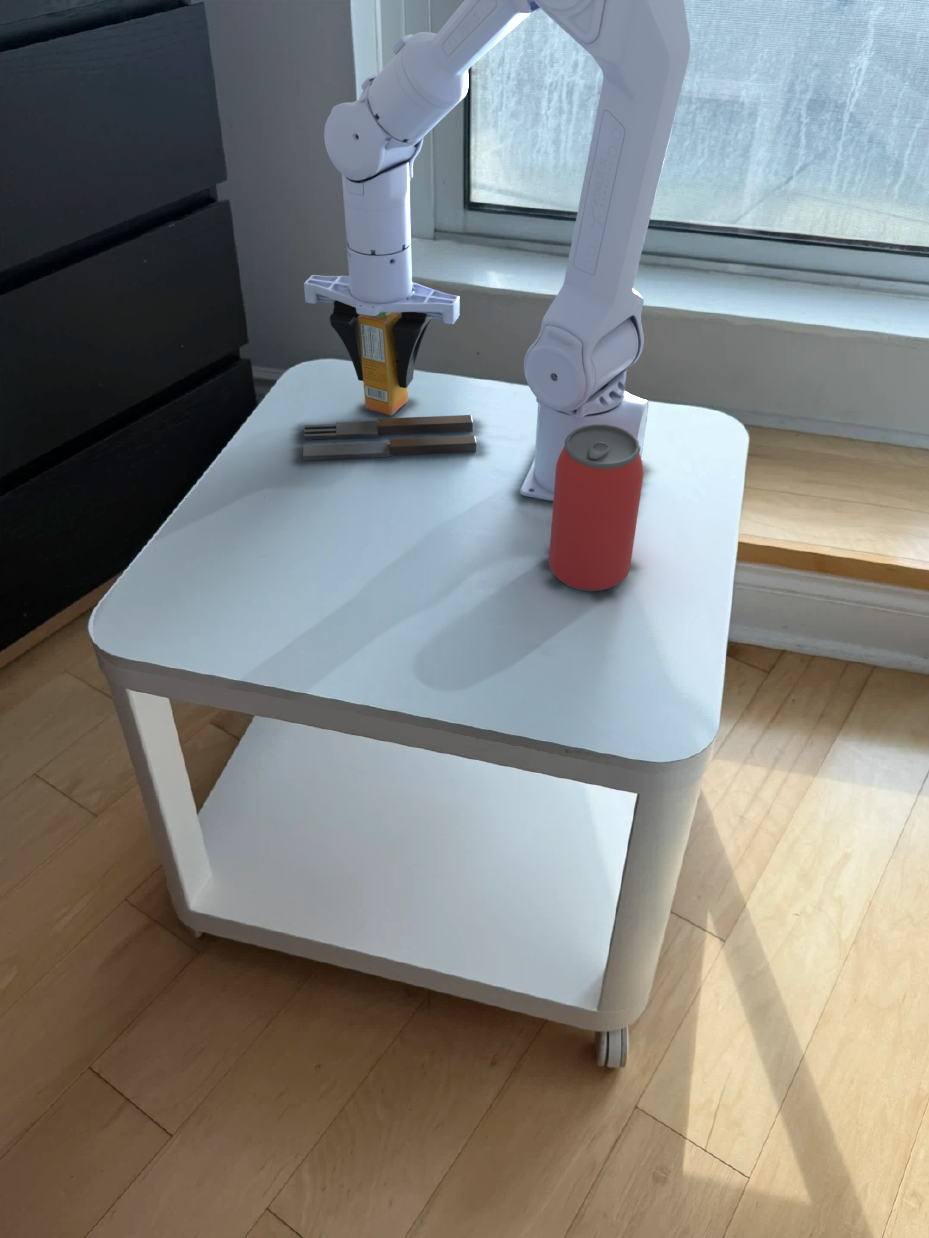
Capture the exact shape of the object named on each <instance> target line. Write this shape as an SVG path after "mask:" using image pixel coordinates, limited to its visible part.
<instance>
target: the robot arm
mask: <svg viewBox="0 0 929 1238" xmlns="http://www.w3.org/2000/svg"><path fill="white" fill-rule="evenodd" d="M538 11H543V12H544V13H545V15H546V16H548V17H549V18H550V19H551V20H552V21H553V22H554V23H556V24H557V25H558V26H559V27H560V28H561V29H562V30H563V31H564V32H565V33H566V34H568V36H570V37H571V38H572V39H573V40H574V41H575V42H576V43H577V44H579V46H581V48H583V49H584V51H586V52H587V53H588V54H589V55H590V56H591V57H592V58H593V59H594V61H595V63H596V64H597V65H598V67H599V68H600V70H601V72H602V74H603V77H602V78H603V79H602V84H601V90H600V95H599V100H598V104H597V110H596V115H595V120H594V125H593V131H592V136H591V141H590V145H589V151H588V156H587V162H586V166H585V171H584V177H583V182H582V187H581V191H580V197H579V203H578V207H577V213H576V218H575V223H574V228H573V233H572V238H571V244H570V248H569V255H568V259H567V264H566V269H565V275H564V279H563V284H562V286H561V288H560V290H559V292H558V293H557V294H556V296H555V298H554V299H553V301H552V303H551V304H550V305H549V307H548V309H547V311H546V313H545V314H544V316H543V317H542V319H541V325H540V330H539V333H538V335H537V338H536V339H535V340H534V341H533V343H532V344H531V345H530V346H529V347H528V349H527V351H526V353H525V354H524V359H523V372H524V377H525V381H526V383H527V386H528V388H529V389H530V391H531V392H532V394H533V395H534V397H535V402H536V403H537V410H536V411H537V413H536V429H535V446H534V459H533V461H532V463H531V466H530V467H529V470H528V472H527V475H526V476H525V478H524V481H523V483H522V485H521V487H520V495H521V496H524V497H530V498H534V499H540V500H545V501H550V502H551V501H552V502H553V499H554V486H555V473H556V464H557V461H558V458H559V456H560V454H561V452H562V450H563V448H564V446H565V440H566V438H567V436H568V435H569V434H570V433H571V432H572V431H574V430H575V429H578V428H580V427H583V426H588V425H594V424H596V425H610V426H615V427H618V428H621V429H624V430H626V431H627V432H629V433H630V434H632V435H633V436H634V437H635V438H636V439H637V440H638V442H639V445H640V451H639V453H640V456H641V460H642V464H643V462H644V461H643V459H642V458H643V450H644V443H645V435H646V429H647V421H648V414H649V400H647V399H644V398H641V397H639V396H636V395H633V394H631V393H629V392H628V391H626V390H625V389H626V380H627V370H628V368H630V367H632V366H633V365H634V364H635V363H636V362H637V361H638V360H639V358H640V357H641V354H642V353H643V350H644V343H645V337H644V330H643V326H642V311H643V307H644V303H645V299H644V298H643V296H642V295H641V294H640V293H639V292H638V291H637V290H636V289H634V285H635V282H636V277H637V272H638V268H639V265H640V261H641V257H642V254H643V253H642V252H643V249H644V244H645V241H646V236H647V233H648V228H649V224H650V219H651V216H652V212H653V208H654V203H655V201H656V195H657V191H658V187H659V183H660V179H661V175H662V171H663V167H664V164H665V163H664V162H665V159H666V156H667V151H668V147H669V143H670V139H671V135H672V132H673V131H672V130H673V128H674V127H673V126H674V123H675V118H676V114H677V110H678V107H679V103H680V98H681V95H682V90H683V86H684V82H685V79H686V74H687V70H688V66H689V61H690V55H691V39H690V32H689V26H688V20H687V14H686V6H685V1H684V0H463V1H462V2H461V4H460V5H459V6H458V7H457V9H456V10H455V11H454V12H453V13H452V15H451V16H450V17H449V18H448V20H447V21H446V22H445V23H444V24H443V26H442V27H441V28H440V30H439V31H438V32H437V33H436V32H431V31H420V32H417V33H415V34H413V33H409V34H407V35H402V36H400V37H399V38H398V39H397V40H396V41H395V42H394V43H393V44H392V45H391V49H392V51H393V53H394V56H393V57H392V58H391V59H390V61H389V62H388V63H387V64H386V65H385V66H384V67H383V68H382V70H381V71H380V72H379V73H378V74H377V75H372V76H369V77H367V78H365V80H364V81H363V82H362V84H361V86H360V87H361V89H362V92H361V93H360V96H359V98H358V100H355V101H351V102H342V103H339V104H336V105H334V106H333V107H332V109H331V111H330V113H329V114H328V115H329V116H328V117H327V119H326V121H325V125H324V130H323V139H324V146H325V149H326V153H327V155H328V157H329V160H330V162H331V164H333V166H334V168H335V169H336V170H337V171H338V173H340V174H341V185H342V200H343V213H344V227H345V228H344V229H345V243H346V254H347V258H346V259H347V271H348V275H318V274H311V275H310V277H308V278H307V279H306V280H305V282H304V283H303V289H304V290H303V291H304V292H303V293H304V302H305V303H307V304H313V305H315V304H318V302H321V303H322V302H323V303H330V304H333V310H332V311H333V312H332V313H331V314H330V315H329V322H330V326H331V327H332V328H333V330H334V331H335V332H336V334H337V335H338V337H339V338H340V340H341V341H342V343H343V345H344V346H345V348H346V350H347V353H348V355H349V357H350V359H351V362H352V365H353V367H354V371H355V375H356V378H357V380H358V381H360V382H363V372H362V359H361V348H360V336H359V325H358V316H360V315H361V314H362V315H369V316H376V315H378V314H379V313H380V312H395V313H402V317H401V318H399V320H398V321H397V322H396V323H395V325H394V326H393V328H392V330H393V334H394V338H395V342H396V347H397V354H398V381H399V387H402V388H407V387H408V388H409V385H410V384H411V382H412V381H413V380H414V372H415V367H416V361H417V358H418V355H419V351H420V348H421V345H422V342H423V339H424V338H425V334H426V332H427V330H428V328H429V326H430V323H431V322H432V319H435V320H442V323H443V324H445V325H446V324H447V325H452V326H453V325H454V324H455V323H456V322H457V321H458V319H459V317H460V315H461V314H460V313H461V312H460V310H461V307H460V305H461V303H460V301H461V299H460V296H459V295H455V294H450V293H447V292H443V291H440V290H437V289H434V288H431V287H427V286H425V285H422V284H419V283H417V282H414V281H413V272H412V271H413V270H412V268H413V267H412V235H411V234H412V233H411V198H410V182H411V179H413V178H414V168H413V167H414V163H415V159H416V158H417V156H418V155H419V154H420V152H421V150H422V147H423V143H424V137H425V136H426V135H427V134H428V133H429V132H430V131H432V130H433V128H435V127H436V126H437V125H438V123H440V122H441V121H442V120H443V118H445V117H446V116H447V115H448V114H449V113H450V112H451V111H452V110H453V109H454V108H455V107H456V106H457V105H459V103H460V102H461V101H462V100H463V99H464V98H465V97H466V96H467V93H468V90H469V70H470V68H472V67H473V66H474V65H476V63H477V62H479V60H480V59H482V58H483V57H484V56H485V55H486V54H487V53H488V52H489V51H490V50H492V48H494V47H495V46H496V45H497V44H498V43H499V42H501V40H503V39H504V38H505V37H506V36H507V35H508V34H509V33H510V32H511V31H513V30H514V29H515V28H516V27H517V26H518V25H519V24H520V23H521V22H522V21H524V20H525V19H526V18H527V17H528V16H529V15H530V14H533V13H536V12H538Z"/></svg>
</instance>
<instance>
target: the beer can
mask: <svg viewBox="0 0 929 1238" xmlns="http://www.w3.org/2000/svg"><path fill="white" fill-rule="evenodd" d="M639 451H640V445H639V442H638V440H637V439H636V438H635V437H634V436H633V435H632V434H630V433H629V432H627V431H626V430H624V429H621V428H618V427H615V426H610V425H596V424H594V425H588V426H583V427H580V428H578V429H575V430H574V431H572V432H571V433H570V434H569V435H568V436H567V438H566V440H565V446H564V448H563V450H562V452H561V454H560V456H559V458H558V461H557V464H556V473H555V486H554V499H553V501H552V513H551V526H550V540H549V552H548V553H549V554H548V563H549V564H548V565H549V568H550V570H551V572H552V575H554V577H556V578H557V579H558V580H559V581H560V582H561V583H563V584H564V585H566V586H568V587H571V588H573V589H575V590H579V591H580V590H581V591H585V592H601V591H605V590H609V589H611V588H613V587H615V586H618V585H620V584H621V583H622V582H623V581H624V580H625V579H626V578H627V577H628V575H629V572H630V569H631V565H632V559H633V551H634V545H635V538H636V529H637V523H638V517H639V516H638V515H639V508H640V501H641V494H642V487H643V481H644V474H645V473H644V466H643V465H644V464H643V463H642V460H643V459H642V458H641V456H640V453H639Z"/></svg>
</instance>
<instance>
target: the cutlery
mask: <svg viewBox="0 0 929 1238" xmlns="http://www.w3.org/2000/svg"><path fill="white" fill-rule="evenodd" d="M473 425H474V422H473V416H472V414H456V415H435V416H434V415H433V416H411V417H410V416H407V417H385V418H384V417H382V418H381V417H380V418H377V420H369V421H365V420H364V421H347V422H346V421H345V422H343V421H341V422H340V421H339V422H336V423H327V424H304V431H303V432H304V435H303V439H304V440H305V441H307V440H308V441H309V440H310V441H311V440H332V439H333V440H334V439H336V440H345V439H348V440H349V439H368V438H369V439H370V438H373V439H374V438H379V436H388V435H390V436H392V435H414V434H436V433H437V434H439V433H462V432H464V433H466V432H473V430H474V429H473V428H474V427H473ZM388 440H389V441H386V442H385V441H381V442H359V443H336V444H309V445H303V450H302V457H303V458H302V460H303V461H320V460H322V461H323V460H343V459H344V460H345V459H369V458H370V459H371V458H390V457H391V456H412V455H413V456H414V455H438V454H457V453H458V454H461V453H463V454H464V453H476V452H477V439H476V435H475V434H473V435H448V436H447V435H446V436H445V435H444V436H421V437H419V436H417V437H399V438H397V437H396V438H389V439H388Z"/></svg>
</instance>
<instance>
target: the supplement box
mask: <svg viewBox="0 0 929 1238" xmlns="http://www.w3.org/2000/svg"><path fill="white" fill-rule="evenodd" d="M401 317H402V313H395V312H380V313H379V314H378V315H376V316H369V315H362V314H361V315H360V316H358V325H359V336H360V348H361V359H362V372H363V381H362V382H363V392H364V393H363V394H364V405H365V409H367V410H370V411H373V412H376V413H379V414H384V415H387V416H393V415H395V414H396V413H397V412H398V410H399V409H400V408H402V407H403V406H404V405H406V404H407V403H408V401H409V389H408V388H409V386H408V387H407V388H402V387H399V381H398V354H397V347H396V342H395V338H394V334H393V330H392V328H393V326H394V325H395V323H396V322H397V321H398V320H399V318H401Z"/></svg>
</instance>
